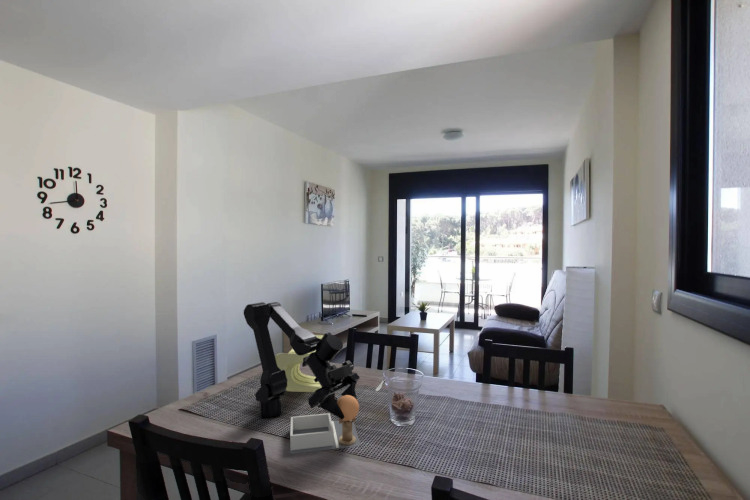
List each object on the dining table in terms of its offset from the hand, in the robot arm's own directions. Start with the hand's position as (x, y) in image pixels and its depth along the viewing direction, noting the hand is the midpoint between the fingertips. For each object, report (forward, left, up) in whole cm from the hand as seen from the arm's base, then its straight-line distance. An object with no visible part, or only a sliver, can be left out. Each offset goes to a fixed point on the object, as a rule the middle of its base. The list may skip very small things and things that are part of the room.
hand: (351, 413), depth 108 cm
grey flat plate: (-7, +6, -9) cm, 13 cm away
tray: (-11, +5, -8) cm, 15 cm away
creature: (-3, +25, -9) cm, 27 cm away
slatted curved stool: (-12, +50, -9) cm, 53 cm away
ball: (-1, +1, +1) cm, 2 cm away
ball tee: (-1, +1, -8) cm, 9 cm away
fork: (+21, +46, -10) cm, 52 cm away
